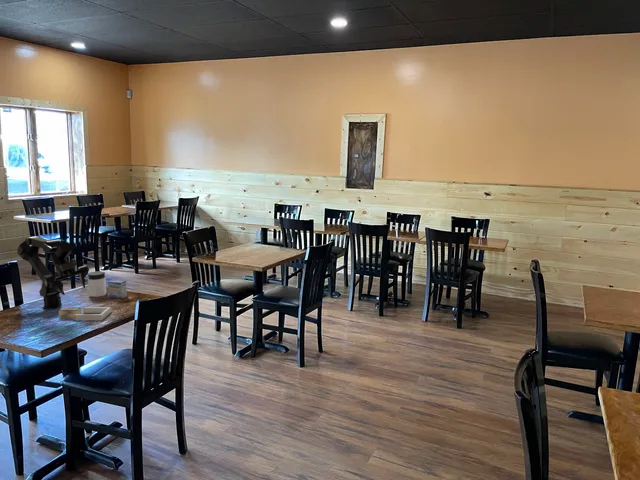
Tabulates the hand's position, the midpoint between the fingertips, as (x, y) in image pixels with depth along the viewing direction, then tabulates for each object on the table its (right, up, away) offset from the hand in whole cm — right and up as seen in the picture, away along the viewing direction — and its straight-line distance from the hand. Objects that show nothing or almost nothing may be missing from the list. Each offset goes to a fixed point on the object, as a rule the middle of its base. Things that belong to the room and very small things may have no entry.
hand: (74, 291), depth 218 cm
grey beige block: (-2, -12, +1) cm, 12 cm away
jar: (-5, -6, +34) cm, 35 cm away
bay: (+8, -12, +1) cm, 14 cm away
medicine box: (+7, -7, +31) cm, 32 cm away
